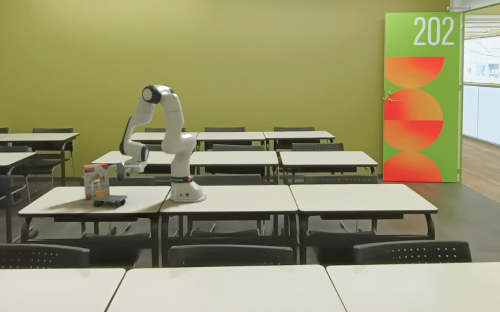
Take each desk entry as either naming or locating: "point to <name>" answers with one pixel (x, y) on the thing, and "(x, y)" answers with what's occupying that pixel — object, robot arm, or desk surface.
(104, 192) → the orange block
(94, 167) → the cracker box
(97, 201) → the cart
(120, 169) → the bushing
